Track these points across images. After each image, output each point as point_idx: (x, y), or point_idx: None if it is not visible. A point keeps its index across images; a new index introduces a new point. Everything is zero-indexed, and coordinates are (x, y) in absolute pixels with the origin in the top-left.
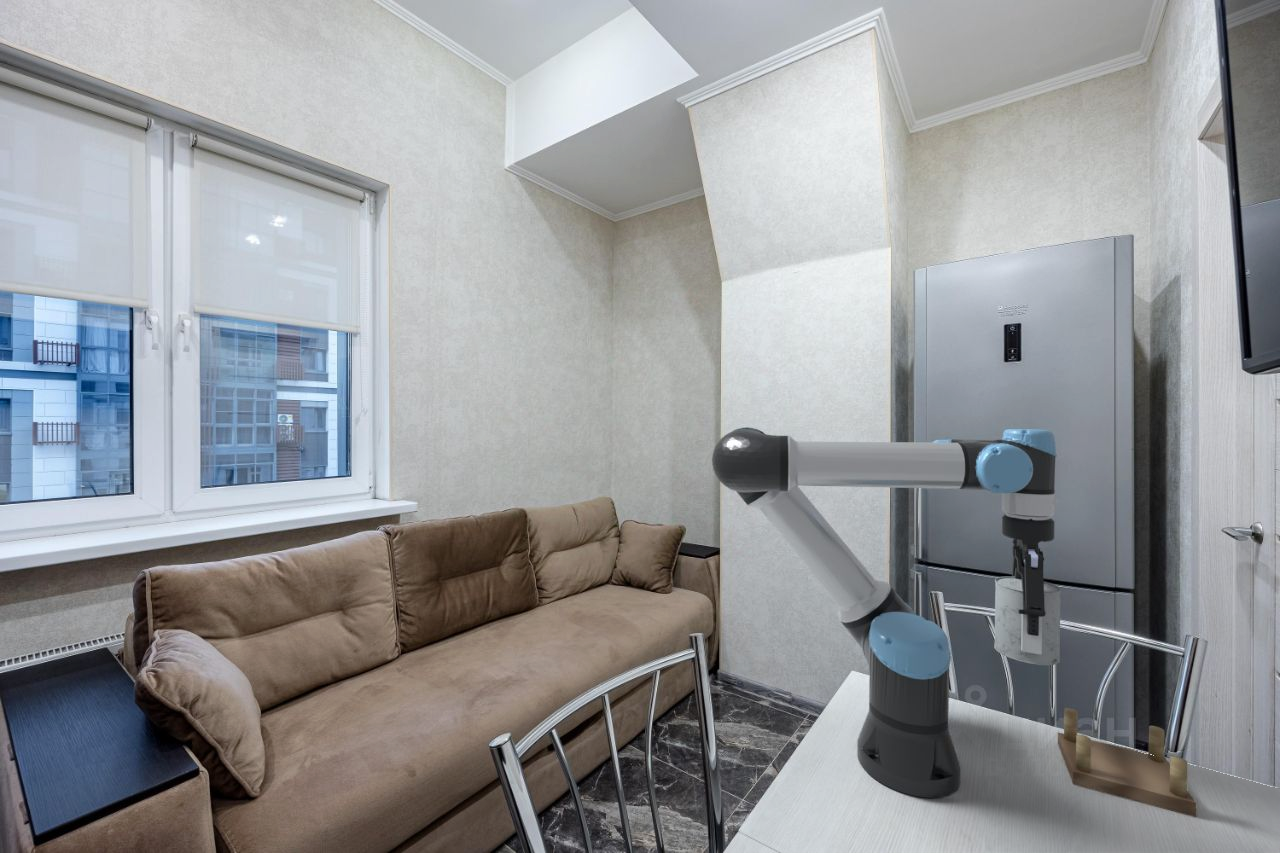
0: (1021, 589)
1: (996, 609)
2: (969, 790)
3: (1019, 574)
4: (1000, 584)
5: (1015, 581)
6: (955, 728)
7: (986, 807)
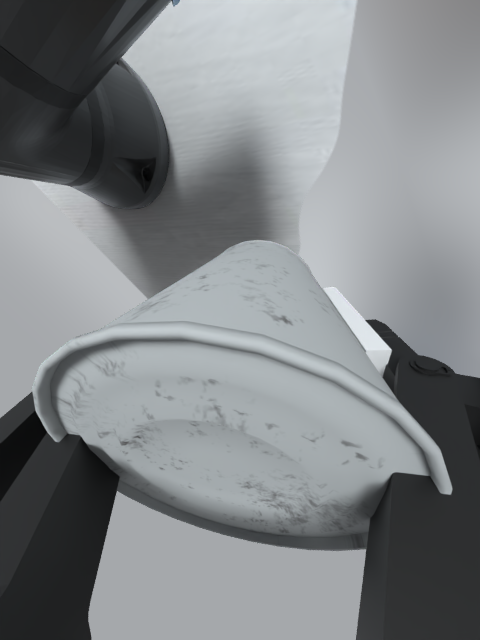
0: (99, 438)
1: (204, 267)
2: (134, 218)
3: (379, 564)
4: (44, 362)
5: (287, 454)
6: (242, 184)
7: (125, 234)
